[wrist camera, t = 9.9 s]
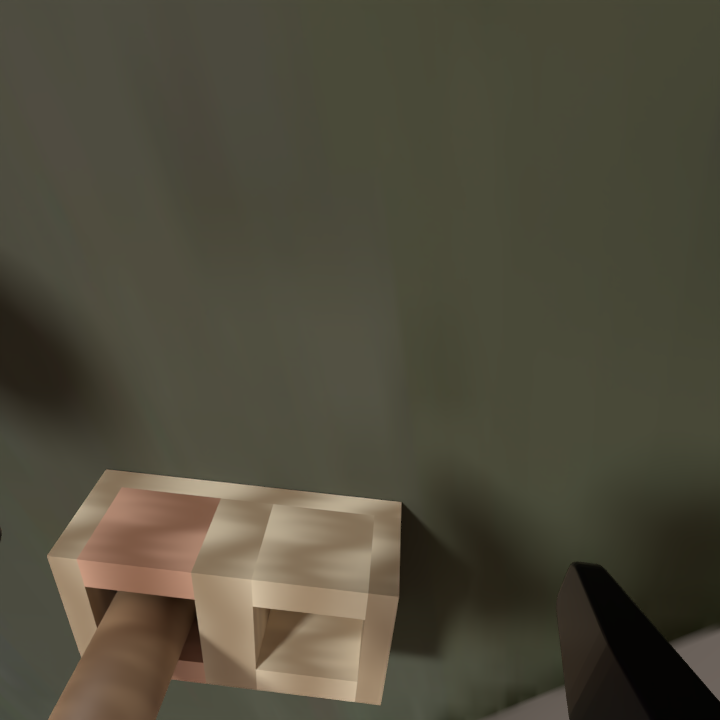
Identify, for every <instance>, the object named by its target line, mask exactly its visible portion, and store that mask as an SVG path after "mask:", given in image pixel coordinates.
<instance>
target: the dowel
mask: <svg viewBox="0 0 720 720" xmlns="http://www.w3.org/2000/svg"><path fill="white" fill-rule="evenodd" d="M195 616H196V605H195V600H193V599H185V598H176V597H168V596H159V595H151V594H143V593H134V592H126V591H117V593H116V595H115V596H114V598H113V600H112V602H111V604H110V606H109V607H108V609H107V611H106V613H105V615H104V617H103V619H102V620H101V622H100V624H99V626H98V628H97V630H96V632H95V633H94V635H93V637H92V639H91V641H90V643H89V645H88V646H87V648H86V650H85V652H84V654H83V656H82V658H81V659H80V661H79V663H78V665H77V667H76V669H75V671H74V672H73V674H72V676H71V678H70V680H69V682H68V683H67V685H66V687H65V689H64V691H63V693H62V695H61V696H60V698H59V700H58V702H57V704H56V706H55V708H54V709H53V711H52V713H51V715H50V717H49V719H48V720H156V717H157V715H158V712H159V709H160V707H161V704H162V702H163V699H164V696H165V694H166V691H167V689H168V686H169V683H170V681H171V678H172V676H173V673H174V670H175V668H176V665H177V662H178V660H179V657H180V655H181V652H182V649H183V647H184V644H185V642H186V639H187V636H188V634H189V631H190V629H191V626H192V623H193V621H194V618H195Z"/></svg>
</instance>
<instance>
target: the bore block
mask: <svg viewBox="0 0 720 720" xmlns="http://www.w3.org/2000/svg"><path fill="white" fill-rule="evenodd" d="M400 538H401V502H395V501H386V500H377V499H368V498H359V497H351V496H342V495H333V494H324V493H315V492H306V491H297V490H288V489H279V488H270V487H261V486H252V485H243V484H234V483H225V482H216V481H207V480H198V479H189V478H180V477H171V476H162V475H153V474H144V473H135V472H126V471H117V470H108V469H106V471H105V472H104V473H103V475H102V476H101V478H100V479H99V481H98V482H97V484H96V485H95V487H94V488H93V489H92V491H91V492H90V494H89V495H88V497H87V498H86V500H85V501H84V503H83V504H82V506H81V507H80V508H79V510H78V511H77V513H76V514H75V516H74V517H73V519H72V520H71V522H70V523H69V524H68V526H67V527H66V529H65V530H64V532H63V533H62V535H61V536H60V538H59V539H58V540H57V542H56V543H55V545H54V546H53V548H52V549H51V551H50V552H49V554H48V555H47V557H48V560H49V563H50V566H51V569H52V572H53V575H54V578H55V581H56V584H57V587H58V590H59V593H60V596H61V599H62V602H63V605H64V608H65V611H66V614H67V617H68V620H69V623H70V625H71V628H72V631H73V634H74V637H75V640H76V643H77V646H78V649H79V652H80V655H81V658H82V656H83V654H84V652H85V650H86V648H87V646H88V645H89V643H90V641H91V639H92V637H93V635H94V633H95V632H96V630H97V628H98V626H99V624H100V622H101V620H102V619H103V617H104V615H105V613H106V611H107V609H108V607H109V606H110V604H111V602H112V600H113V598H114V596H115V595H116V593H117V591H126V592H134V593H143V594H151V595H159V596H168V597H176V598H185V599H193V600H195V605H196V616H195V618H194V621H193V623H192V626H191V629H190V631H189V634H188V636H187V639H186V642H185V644H184V647H183V649H182V652H181V655H180V657H179V660H178V662H177V665H176V668H175V670H174V673H173V676H172V678H171V679H173V680H181V681H190V682H198V683H206V684H214V685H222V686H230V687H238V688H246V689H254V690H262V691H271V692H279V693H287V694H295V695H303V696H311V697H319V698H327V699H335V700H343V701H351V702H360V703H368V704H376V705H381V700H382V694H383V688H384V682H385V676H386V671H387V665H388V659H389V653H390V647H391V641H392V635H393V630H394V624H395V618H396V612H397V606H398V600H399V579H400Z"/></svg>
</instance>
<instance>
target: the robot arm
mask: <svg viewBox="0 0 720 720" xmlns="http://www.w3.org/2000/svg"><path fill="white" fill-rule="evenodd" d="M1 536H2V531H1V527H0V541H1ZM556 610H557V620H558V628H559V637H560V646H561V655H562V663H563V672H564V681H565V690H566V698H567V705H568V713H569V719H570V720H720V701H719V700H718V699H717V698H716V697H715V696H714V695H713V693H711V691H710V690H709V689H708V688H707V686H706V685H705V684H704V683H703V682H702V681H701V679H700V678H699V677H698V676H697V675H696V674H695V673H694V672H693V670H692V669H691V668H690V667H689V666H688V664H687V663H686V662H685V661H684V660H683V659H682V657H681V656H680V655H679V654H678V653H677V652H676V651H675V649H674V648H673V647H672V646H671V645H670V644H669V642H668V641H667V640H666V639H665V638H664V637H663V635H662V634H661V633H660V632H659V631H658V630H657V629H656V627H655V626H654V625H653V624H652V623H651V622H650V620H649V619H648V618H647V617H646V616H645V615H644V613H643V612H642V611H641V610H640V609H639V608H638V607H637V605H636V604H635V603H634V602H633V601H632V600H631V598H630V597H629V596H628V595H627V594H626V593H625V591H624V590H623V589H622V588H621V587H620V586H619V585H618V583H617V582H616V581H615V580H614V579H613V578H612V576H611V575H610V574H609V573H608V572H607V571H606V570H605V569H604V568H603V567H602V566H600V565H598V564H594V563H585V562H573V563H572V564H571V565H570V566H569V568H568V571H567V573H566V576H565V578H564V581H563V583H562V585H561V588H560V590H559V593H558V596H557V603H556Z"/></svg>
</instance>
